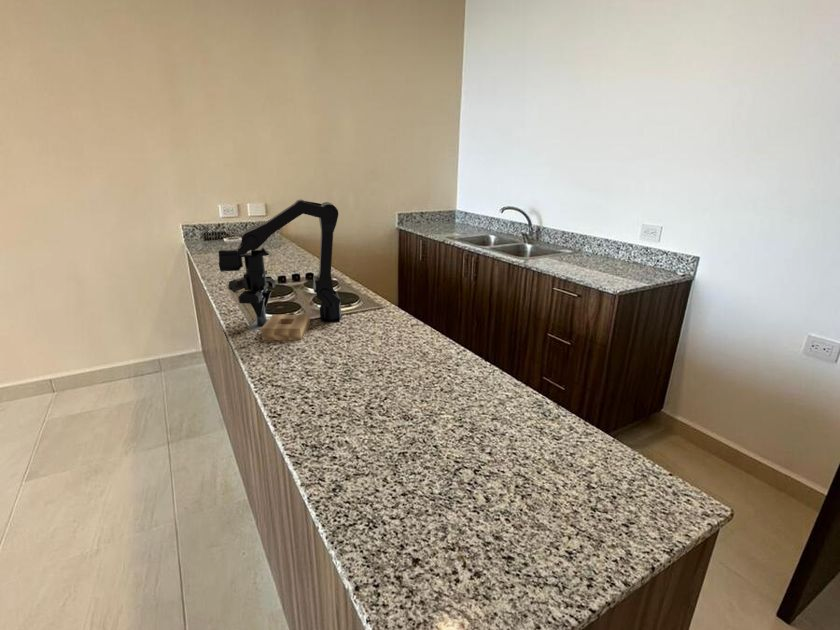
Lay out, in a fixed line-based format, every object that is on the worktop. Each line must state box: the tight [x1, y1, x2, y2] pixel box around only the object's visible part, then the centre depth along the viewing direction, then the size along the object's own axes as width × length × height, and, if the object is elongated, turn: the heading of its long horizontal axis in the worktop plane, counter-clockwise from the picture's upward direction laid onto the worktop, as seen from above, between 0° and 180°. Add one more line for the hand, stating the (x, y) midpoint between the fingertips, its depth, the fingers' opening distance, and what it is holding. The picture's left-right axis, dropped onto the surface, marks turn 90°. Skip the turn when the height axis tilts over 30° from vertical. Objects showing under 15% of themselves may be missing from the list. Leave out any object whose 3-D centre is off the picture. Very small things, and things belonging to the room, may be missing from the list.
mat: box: [247, 319, 268, 331], centre depth 154 cm, size 7×8×1 cm
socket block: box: [260, 314, 311, 341], centre depth 148 cm, size 12×12×4 cm
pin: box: [255, 295, 267, 327], centre depth 153 cm, size 3×3×10 cm
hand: (260, 315), depth 153 cm, fingers closed on pin, 3 cm apart
